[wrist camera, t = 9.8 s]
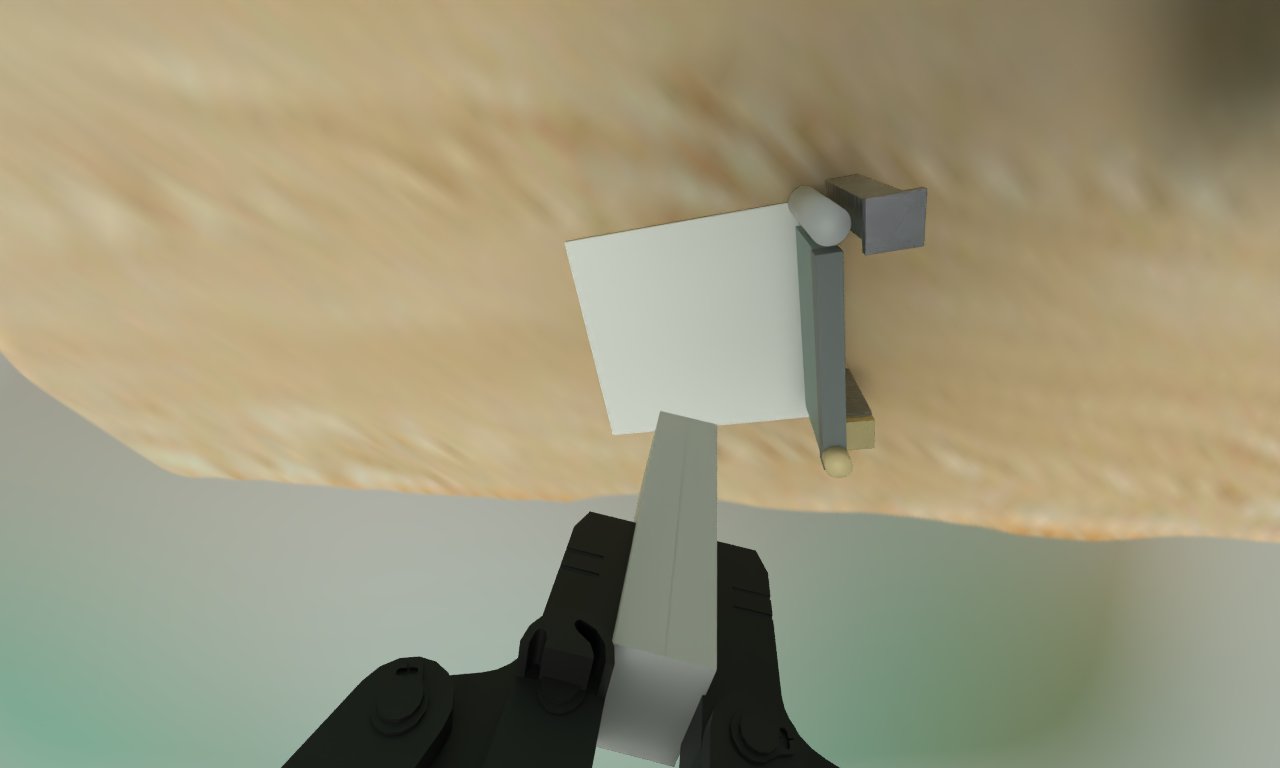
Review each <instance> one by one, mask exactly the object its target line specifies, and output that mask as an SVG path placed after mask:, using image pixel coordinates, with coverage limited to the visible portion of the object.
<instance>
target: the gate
mask: <svg viewBox="0 0 1280 768" xmlns="http://www.w3.org/2000/svg"><path fill="white" fill-rule="evenodd" d="M788 208H789V210H790V212H791V213H792V214H793V216H794V217H795V218H796V219H797V221H798V222H799V223H800V224H801V226H795V227H796V245H797V262H798V280H799V297H800V314H801V332H802V349H803V367H804V384H805V402H806V408H807V411H808V414H809V417H810V421H811V424H812V427H813V430H814V433H815V437H816V440H817V443H818V446H819V449H820V458H821V461H822V464H823V468H824V470H826V472H827V474H828V475H830V476H831V477H834V478H843V477H846V476H847V475H849V474H850V473H851V471H852V469H853V464H852V462H851V459H850V457H849V454H848V452H847V440H846V384H845V328H844V273H843V251H842V250H841V249H840V248H839V247H838V246H837V245H836V244H838V243H840V242H841V241H843V240H844V239H845V238H846V236H847V235H848V233H849V231H850V228H851V219H850V216H849V214H848V212H847V211H846V210H845V209H843V208H842V207H840V206H839V205H837V204H836V203H834V202H833V201H832V200H830V199H829V198H827V197H826V196H824V195H823V194H821V193H820V192H818V191H817V190H815V189H814V188H812V187H810V186H801V187H798V188H797V189H795V190H794V191H793V192H792V193H791V195H790V197H789V199H788ZM835 245H836V246H835Z"/></svg>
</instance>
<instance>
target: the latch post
mask: <svg viewBox="0 0 1280 768" xmlns="http://www.w3.org/2000/svg"><path fill="white" fill-rule="evenodd" d="M845 384H846V440H847V450H858V449H871V448H874V437H875V420H874V418H873V416H872V414H871V410H870V408H869V406H868V404H867V402H866V400H865V398H864V397H863V395H862V393H861V391H860V389H859V387H858V385H857V383H856V382H855V380H854V378H853V376H852V374H851V372H850V370H849V369H845Z"/></svg>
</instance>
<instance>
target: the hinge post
mask: <svg viewBox="0 0 1280 768" xmlns="http://www.w3.org/2000/svg"><path fill="white" fill-rule="evenodd" d="M826 197H827V198H829V199H830V200H832V201H833V202H834V203H836V204H837V205H839V206H840V207H842V208H843V209H845V210H846V211H847V212H848V214H849V216H850V219H851V228H850V230H851V231H852V232H853V233H855V234H856V235H857V236H858V237H859V238H861V239H862V252H863V253H864V254H865V255H869V254H876V253H882V252H889V251H896V250H902V249H909V248H915V247H922V246H924V238H925V219H926V200H927V188H924V187H920V188H914V189H908V190H900V189H897V188H894V187H892V186H889V185H886V184H883V183H881V182H878V181H875V180H872V179H870V178H867V177H864V176H861V175H859V174H855V175H849V176H844V177H838V178H833V179H827V180H826Z"/></svg>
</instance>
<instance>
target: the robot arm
mask: <svg viewBox="0 0 1280 768" xmlns="http://www.w3.org/2000/svg"><path fill="white" fill-rule="evenodd" d="M771 607H772V606H771V600H770V590H769V579H768V572H767V570H766V569H765V567H764V565H763V563H762V561H761V559H760V558H759V556H758V554H757V552H756V551H755V550H751V549H747V548H743V547H739V546H735V545H730V544H726V543H722V542H718V541H717V424H713V423H709V422H705V421H701V420H697V419H692V418H688V417H684V416H680V415H676V414H671V413H667V412H663V411H660V413H659V417H658V421H657V425H656V429H655V433H654V437H653V441H652V445H651V449H650V453H649V457H648V461H647V465H646V469H645V473H644V477H643V481H642V485H641V489H640V494H639V498H638V503H637V508H636V513H635V517H634V522H630V521H626V520H622V519H618V518H614V517H610V516H606V515H602V514H598V513H594V512H589V513H588V514H587V515H586V516H585V517H584V518H583V519H582V520H581V521H580V522H579V523H578V524H576V525H575V527H574V529H573V532H572V534H571V537H570V540H569V543H568V546H567V549H566V551H565V554H564V557H563V560H562V563H561V566H560V569H559V571H558V574H557V577H556V580H555V582H554V585H553V588H552V591H551V594H550V596H549V599H548V602H547V605H546V607H545V610H544V613H543V616H542V617H540V618H539V619H538V620H536V621H535V622H533V623H532V624H531V625H530V626H529V628H528V629H527V631H526V632H525V634H524V636H523V637H522V639H521V640H520V647H519V655H518V658H517V659H516V660H515V661H513V662H512V663H510V664H508V665H506V666H504V667H502V668H499V669H497V670H492V671H487V672H482V673H471V674H460V675H449V673H448V672H447V671H446V670H445V669H444V668H442V667H441V666H440V665H439V664H438V663H437V662H435V661H432V660H429V659H426V658H422V657H408V658H399V659H397V660H394V661H392V662H390V663H387V664H385V665H382V666H380V667H379V668H378V669H376V670H375V671H374V672H373V673H371V674H370V675H369V676H368V677H366V678H365V679H364V680H363V681H362V682H361V683H360V684H359V685H358V686H357V687H356V688H355V689H354V690H353V691H352V692H351V693H350V694H349V695H348V696H347V698H346V699H345V700H344V701H343V702H342V703H341V704H340V705H339V706H338V707H337V708H336V710H334V712H333V713H332V714H331V715H330V716H329V717H328V718H327V719H326V720H325V721H324V722H323V723H322V724H321V725H320V727H319V728H318V729H317V730H316V731H315V732H314V733H313V734H312V735H311V736H310V737H309V738H308V739H307V741H306V742H305V743H304V744H303V745H302V746H301V747H300V748H299V749H298V750H297V751H296V752H295V753H294V754H293V755H292V757H291V758H290V759H289V760H288V761H287V762H286V763H285V764H284V765H283V766H282V767H281V768H592V765H593V759H594V754H595V749H596V747H600V748H603V749H607V750H611V751H615V752H619V753H623V754H627V755H631V756H634V757H638V758H642V759H646V760H650V761H654V762H658V763H661V764H665V765H669V766H673V767H674V766H675V763H676V761H677V759H678V757H679V754H680V765H679V768H839V767H838V766H836V765H834V764H833V763H831V762H830V761H828V760H826V759H825V758H824V757H822V756H821V755H820V754H818V753H817V752H815V751H814V750H813V749H812V748H811V747H810V746H809V745H808V744H807V743H806V742H805V741H804V740H803V739H802V738H801V737H800V735H799V734H798V732H797V731H796V728H795V727H794V725H793V724H792V722H791V721H790V719H789V718H788V715H787V713H786V711H785V708H784V704H783V700H782V696H781V687H780V678H779V669H778V660H777V651H776V643H775V634H774V624H773V620H772V608H771Z"/></svg>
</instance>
